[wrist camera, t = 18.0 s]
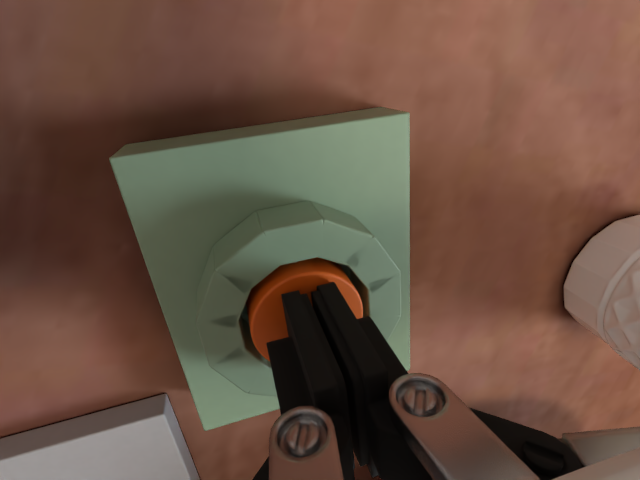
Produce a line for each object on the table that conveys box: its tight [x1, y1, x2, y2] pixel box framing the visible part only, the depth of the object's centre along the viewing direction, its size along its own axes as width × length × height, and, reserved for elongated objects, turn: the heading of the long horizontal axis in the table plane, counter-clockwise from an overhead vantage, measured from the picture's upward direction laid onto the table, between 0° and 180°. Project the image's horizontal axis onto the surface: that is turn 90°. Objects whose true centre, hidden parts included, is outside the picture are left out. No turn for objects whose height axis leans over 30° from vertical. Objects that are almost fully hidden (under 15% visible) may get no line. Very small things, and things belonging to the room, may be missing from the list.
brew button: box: [246, 257, 363, 361], centre depth 12 cm, size 4×4×2 cm
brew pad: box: [109, 107, 410, 431], centre depth 14 cm, size 11×9×4 cm
